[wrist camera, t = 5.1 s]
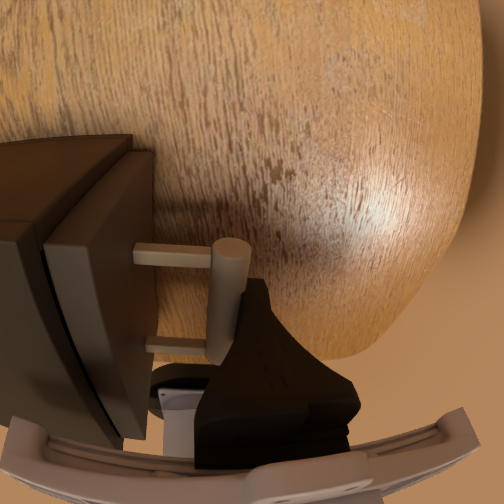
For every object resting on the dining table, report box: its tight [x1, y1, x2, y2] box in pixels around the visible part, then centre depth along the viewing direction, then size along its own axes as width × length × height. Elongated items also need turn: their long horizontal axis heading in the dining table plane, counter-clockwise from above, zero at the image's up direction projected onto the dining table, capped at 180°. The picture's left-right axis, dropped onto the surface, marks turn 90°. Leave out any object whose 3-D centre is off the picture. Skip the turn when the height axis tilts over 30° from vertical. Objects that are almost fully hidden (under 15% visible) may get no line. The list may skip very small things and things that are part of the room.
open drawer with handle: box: [40, 152, 252, 440], centre depth 11 cm, size 18×10×8 cm, turn 82°
